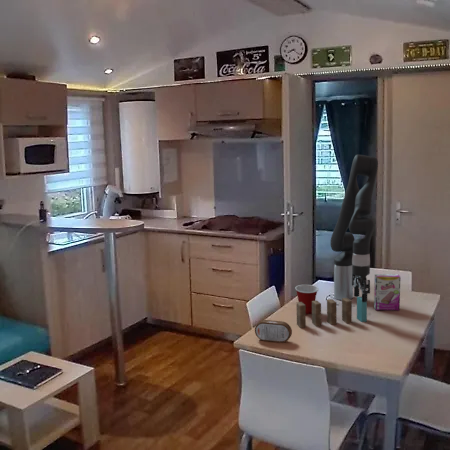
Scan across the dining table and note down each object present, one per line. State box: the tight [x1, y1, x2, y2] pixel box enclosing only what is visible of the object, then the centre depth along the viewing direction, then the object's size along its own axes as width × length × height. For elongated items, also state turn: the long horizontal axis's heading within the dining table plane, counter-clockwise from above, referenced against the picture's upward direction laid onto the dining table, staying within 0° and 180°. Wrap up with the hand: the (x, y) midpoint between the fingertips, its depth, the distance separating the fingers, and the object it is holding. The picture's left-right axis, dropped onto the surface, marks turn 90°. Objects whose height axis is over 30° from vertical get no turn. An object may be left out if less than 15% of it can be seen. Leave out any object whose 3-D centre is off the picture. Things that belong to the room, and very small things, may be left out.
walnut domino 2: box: [311, 300, 322, 327], centre depth 245 cm, size 2×5×10 cm, turn 11°
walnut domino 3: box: [326, 298, 338, 326], centre depth 246 cm, size 2×5×10 cm, turn 10°
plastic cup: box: [294, 284, 319, 315], centre depth 262 cm, size 11×11×12 cm
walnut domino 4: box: [341, 298, 353, 324], centre depth 248 cm, size 2×5×10 cm, turn 11°
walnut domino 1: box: [296, 301, 307, 329], centre depth 244 cm, size 2×5×10 cm, turn 11°
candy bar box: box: [373, 273, 401, 311], centre depth 262 cm, size 11×5×16 cm, turn 84°
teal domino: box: [356, 296, 368, 323], centre depth 249 cm, size 2×5×10 cm, turn 11°
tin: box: [254, 319, 293, 343], centre depth 227 cm, size 15×3×8 cm, turn 71°
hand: (360, 299), depth 248 cm, fingers open, 8 cm apart
